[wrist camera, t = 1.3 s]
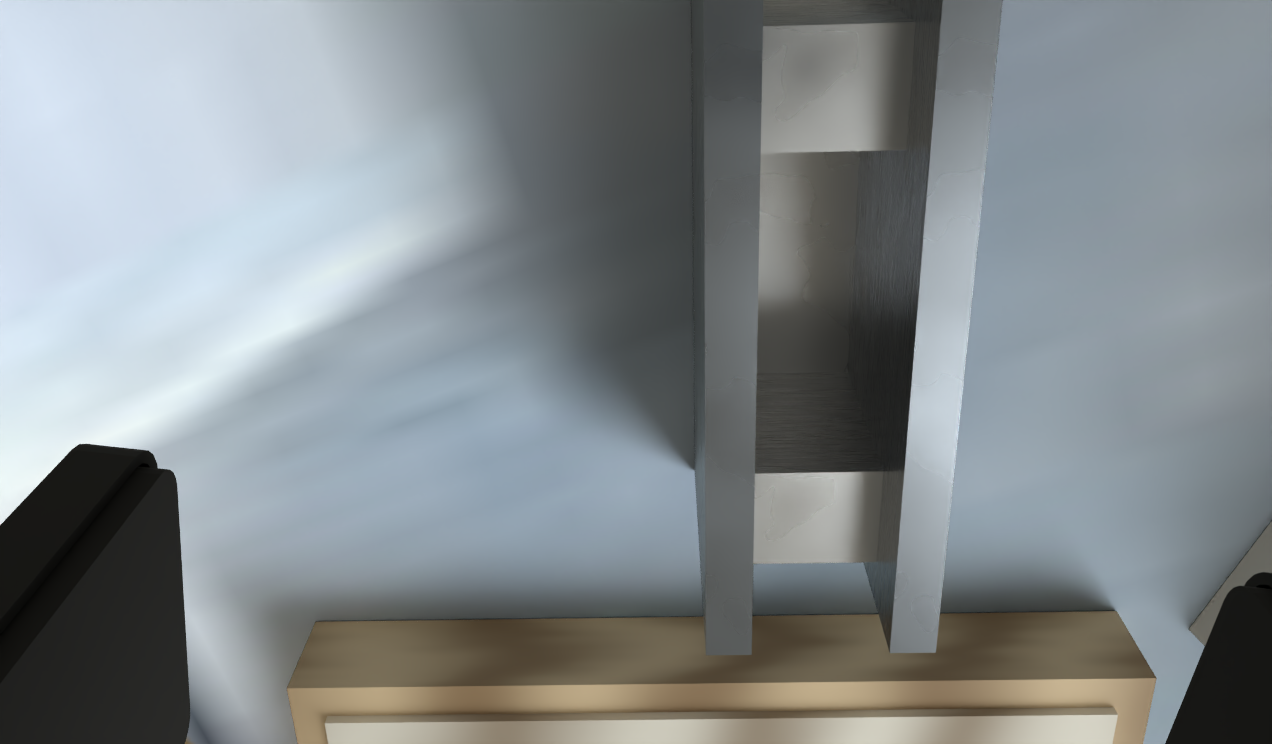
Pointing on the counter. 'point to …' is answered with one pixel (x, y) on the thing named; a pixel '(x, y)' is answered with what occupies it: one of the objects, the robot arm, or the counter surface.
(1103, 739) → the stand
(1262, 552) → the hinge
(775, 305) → the housing
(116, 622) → the robot arm
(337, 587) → the counter surface
